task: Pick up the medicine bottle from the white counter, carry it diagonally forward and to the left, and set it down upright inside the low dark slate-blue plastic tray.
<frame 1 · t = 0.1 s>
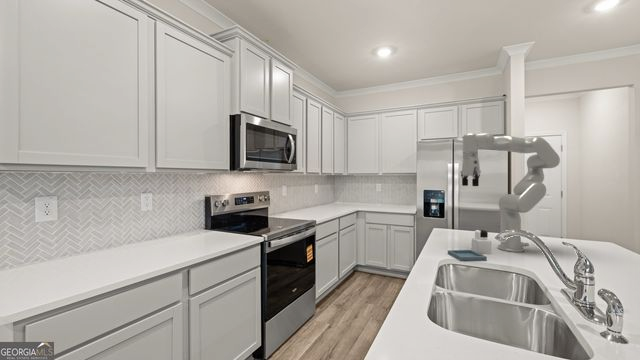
hand: (470, 185, 155), 37 cm above the counter, tool pointing down, fingers open, 9 cm apart
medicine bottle: (481, 252, 151), on the counter
tray: (466, 257, 142), on the counter
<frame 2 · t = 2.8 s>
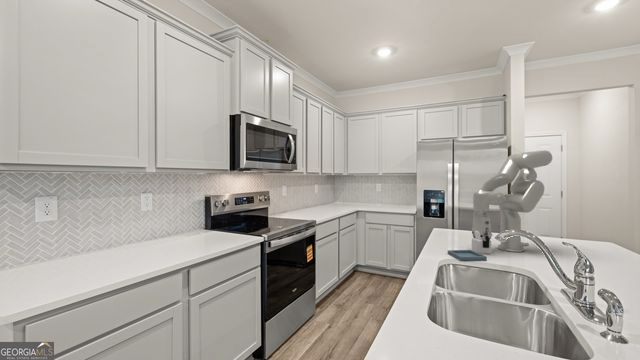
hand: (481, 245, 151), 4 cm above the counter, tool pointing down, fingers closed on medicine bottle, 7 cm apart
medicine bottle: (481, 252, 151), on the counter, touching gripper
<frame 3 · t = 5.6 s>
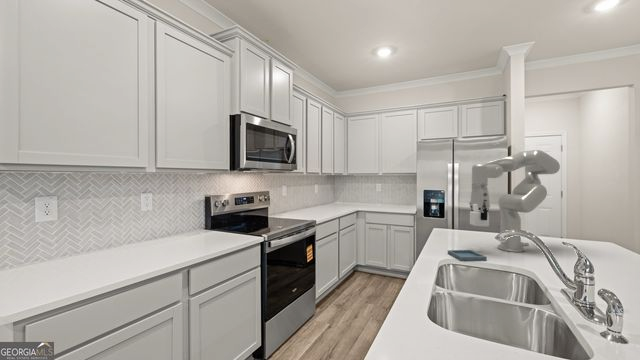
hand: (479, 218, 150), 19 cm above the counter, tool pointing down, fingers closed on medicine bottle, 7 cm apart
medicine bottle: (479, 225, 150), point 15 cm above the counter, touching gripper
when the fingers open (5 cm above the counter, at t = 8.5 s): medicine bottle drops 1 cm, resting on tray.
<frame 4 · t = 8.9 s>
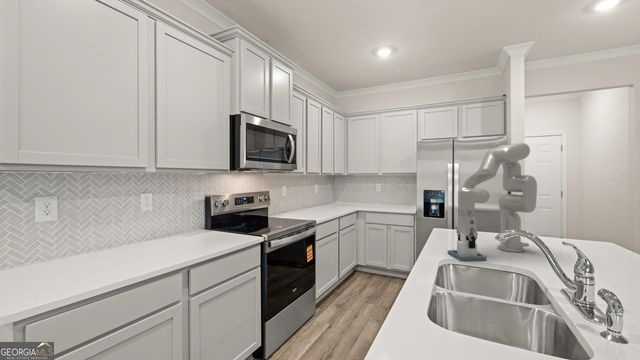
hand: (466, 246, 142), 6 cm above the counter, tool pointing down, fingers open, 9 cm apart
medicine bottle: (466, 256, 142), resting on tray
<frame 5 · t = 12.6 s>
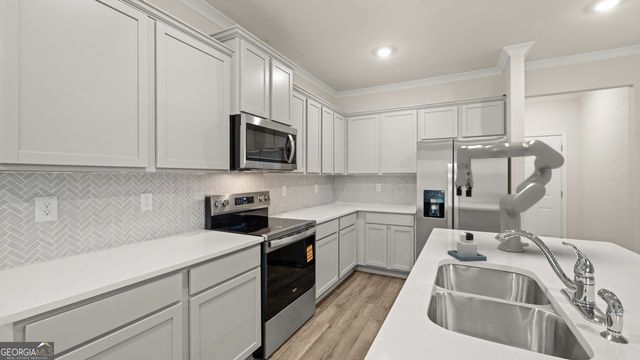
hand: (463, 196, 161), 30 cm above the counter, tool pointing down, fingers open, 9 cm apart
nothing on the counter moved.
at the end: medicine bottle inside the target area on the tray (0.2 cm from its centre), point 0.4 cm above the tray's base; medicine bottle tilted 0°; the gripper is holding nothing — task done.
